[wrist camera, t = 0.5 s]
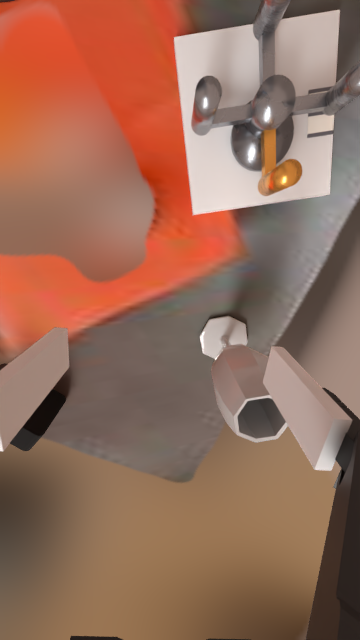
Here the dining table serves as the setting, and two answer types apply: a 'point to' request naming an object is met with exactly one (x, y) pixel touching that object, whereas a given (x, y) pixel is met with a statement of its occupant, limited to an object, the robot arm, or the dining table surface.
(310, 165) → the stand plate
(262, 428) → the wineglass
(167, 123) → the dining table surface
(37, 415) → the electronic device
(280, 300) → the dining table surface
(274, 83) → the silver metal piece
